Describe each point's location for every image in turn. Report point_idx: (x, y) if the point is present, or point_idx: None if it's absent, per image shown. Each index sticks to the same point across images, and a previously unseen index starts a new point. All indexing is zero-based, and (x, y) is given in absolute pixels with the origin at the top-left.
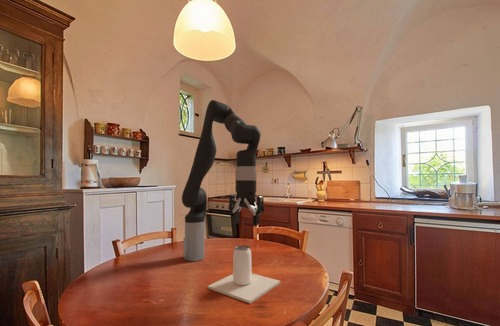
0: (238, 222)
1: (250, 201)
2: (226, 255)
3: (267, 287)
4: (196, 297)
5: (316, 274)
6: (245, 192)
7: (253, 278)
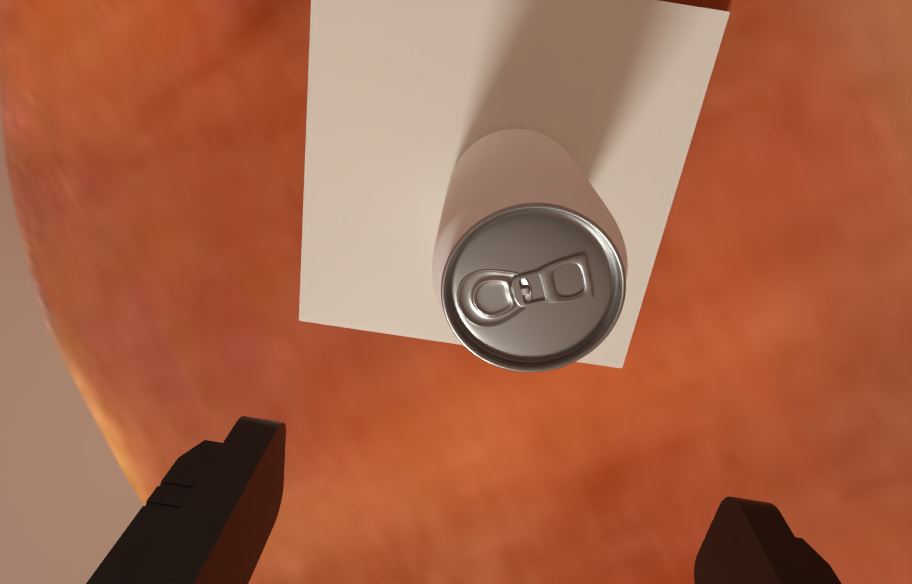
0: (700, 564)
1: None
2: (858, 572)
3: (319, 194)
4: None
5: None
6: None
7: None
